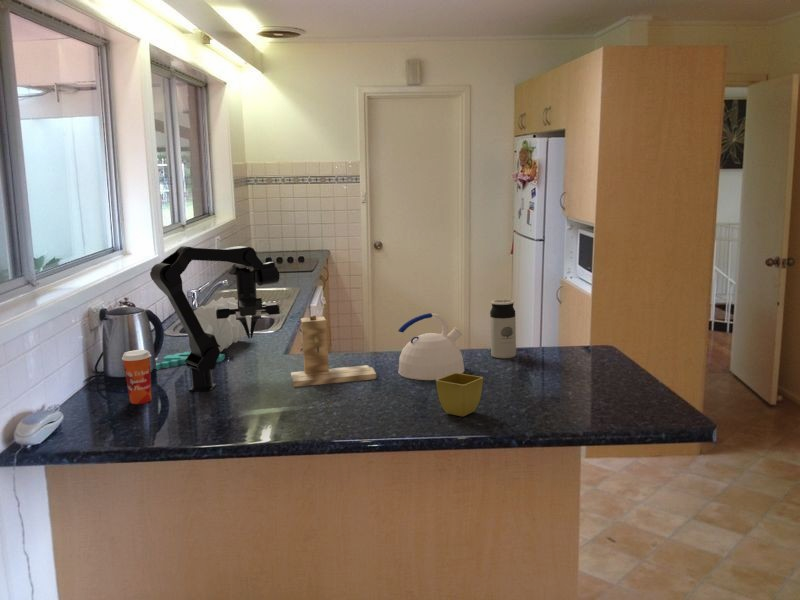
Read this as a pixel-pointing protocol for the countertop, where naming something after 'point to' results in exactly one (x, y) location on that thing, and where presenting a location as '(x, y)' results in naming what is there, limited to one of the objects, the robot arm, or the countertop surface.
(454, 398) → the flower pot
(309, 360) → the tan wooden tall block
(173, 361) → the alien figure
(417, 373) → the kettle
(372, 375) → the board
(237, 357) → the countertop surface
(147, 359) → the paper cup
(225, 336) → the spiral staircase
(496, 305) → the travel mug
